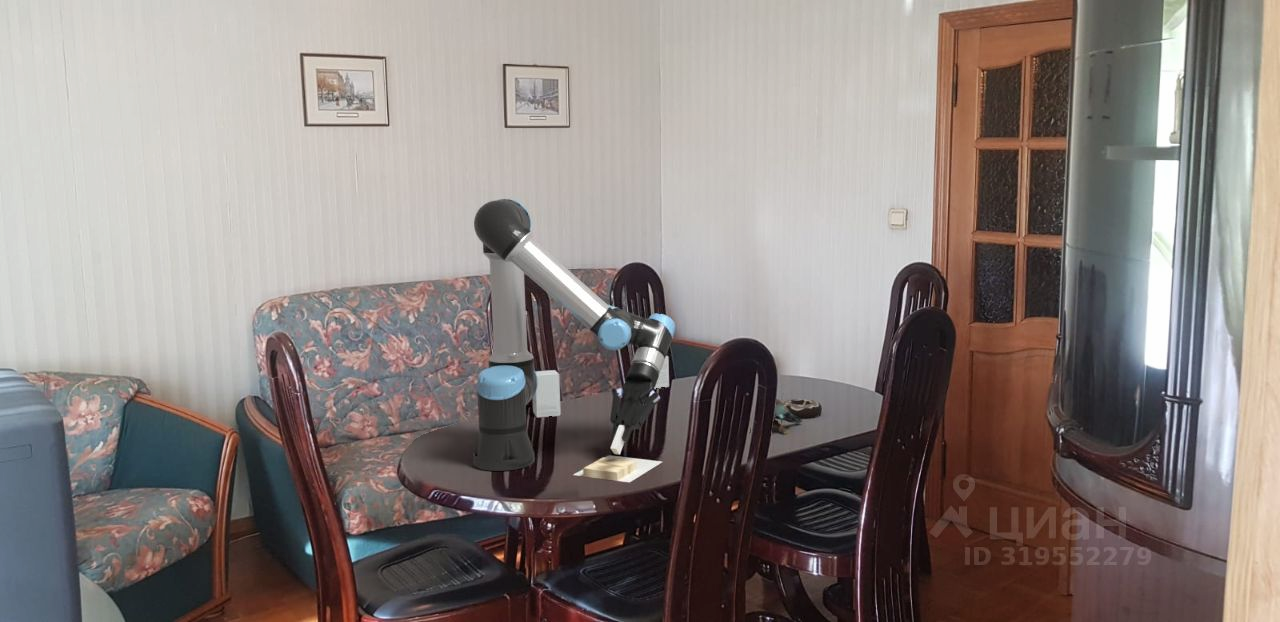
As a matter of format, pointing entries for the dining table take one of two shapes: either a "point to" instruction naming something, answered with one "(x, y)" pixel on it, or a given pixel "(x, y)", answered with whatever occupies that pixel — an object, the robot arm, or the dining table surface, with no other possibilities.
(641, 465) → the rubber mat
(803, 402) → the donut
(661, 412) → the dining table surface
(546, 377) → the supplement box
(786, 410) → the bird figurine
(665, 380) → the small box
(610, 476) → the birch slab
